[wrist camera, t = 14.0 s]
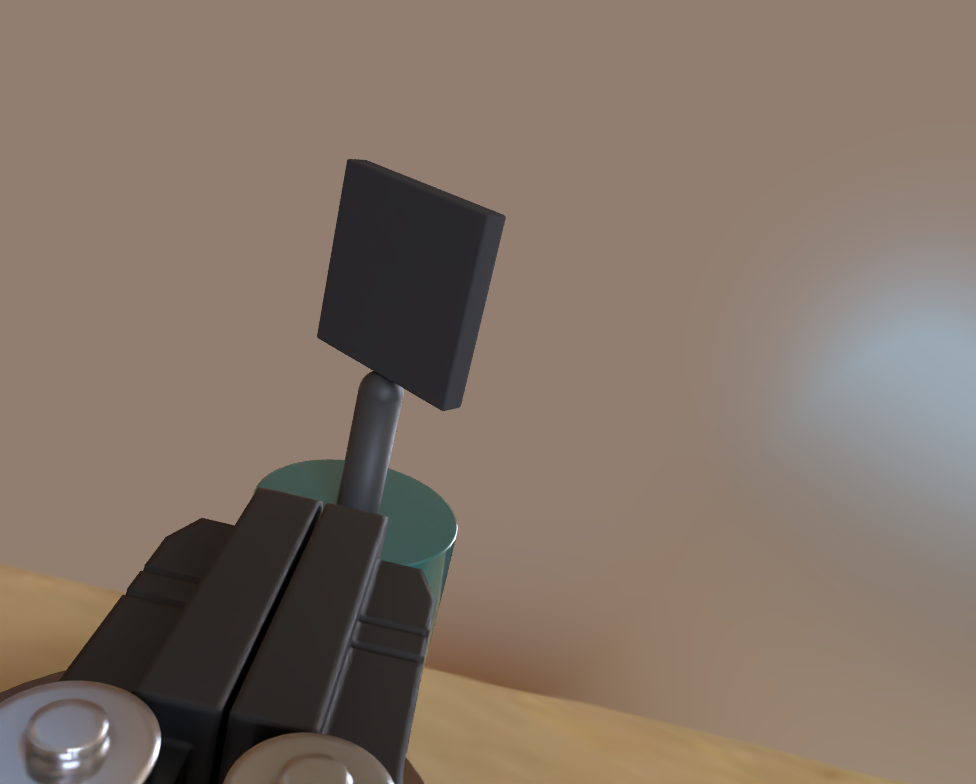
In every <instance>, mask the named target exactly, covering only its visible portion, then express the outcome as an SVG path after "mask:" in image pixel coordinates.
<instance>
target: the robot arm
mask: <svg viewBox="0 0 976 784" xmlns="http://www.w3.org/2000/svg"><path fill="white" fill-rule="evenodd" d="M387 524H388V517H387V516H383V515H379V514H374V513H370V512H366V511H362V510H358V509H353V508H349V507H345V506H341V505H337V504H332V503H326V505H325V507H324V509H323V502H322V501H319V500H315V499H310V498H306V497H302V496H298V495H294V494H289V493H285V492H281V491H277V490H273V489H268V488H264V487H259V488H258V489H257V491H256V492H255V494H254V495H253V497H252V499H251V500H250V502H249V504H248V505H247V507H246V508H245V510H244V511H243V513H242V515H241V516H240V518H239V520H238V521H237V523H236V524H235V526H234V525H230V524H226V523H221V522H217V521H213V520H209V519H205V518H201V519H199V520H197V521H195V522H193V523H191V524H189V525H188V526H186V527H184V528H182V529H180V530H178V531H176V532H175V533H173V534H171V535H169V536H167V537H165V539H164V540H163V542H162V543H161V544H160V546H159V547H158V548H157V550H156V551H155V552H154V554H153V555H152V556H151V558H150V559H149V560H148V562H147V563H146V564H145V567H144V570H143V571H140V572H139V574H138V575H137V576H136V578H135V579H134V580H133V582H132V583H131V584H130V586H129V587H128V589H127V592H126V594H125V595H122V596H121V598H120V599H119V600H118V602H117V603H116V604H115V606H114V607H113V608H112V610H111V611H110V613H109V614H108V615H107V617H106V618H105V619H104V621H103V622H102V623H101V625H100V626H99V627H98V629H97V630H96V631H95V633H94V634H93V635H92V637H91V638H90V639H89V641H88V642H87V643H86V645H85V646H84V647H83V649H82V650H81V651H80V653H79V654H78V655H77V657H76V658H75V659H74V661H73V662H72V663H71V665H70V666H69V667H68V669H67V670H66V671H65V673H64V674H63V675H62V677H61V678H60V680H59V681H58V682H54V683H48V684H44V685H40V686H36V687H33V688H30V689H27V690H24V691H22V692H19V693H17V694H15V695H13V696H11V697H9V698H7V699H5V700H4V701H2V702H1V703H0V784H404V783H403V772H404V764H405V759H406V753H407V748H408V743H409V738H410V732H411V727H412V722H413V717H414V711H415V706H416V701H417V696H418V690H419V685H420V680H421V675H422V669H423V663H424V658H425V653H426V648H427V643H428V636H429V632H430V627H431V622H432V617H433V611H434V606H435V601H436V600H435V598H434V596H433V593H432V591H431V588H430V586H429V584H428V581H427V579H426V577H425V574H424V572H423V570H422V569H417V568H413V567H409V566H405V565H400V564H396V563H392V562H388V561H383V560H380V556H381V552H382V547H383V543H384V538H385V534H386V529H387Z"/></svg>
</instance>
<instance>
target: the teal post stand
mask: <svg viewBox="0 0 976 784" xmlns="http://www.w3.org/2000/svg"><path fill="white" fill-rule="evenodd" d="M504 223H505V216H504V215H502V214H500V213H497V212H495V211H492V210H490V209H487V208H485V207H482V206H480V205H477V204H475V203H472V202H470V201H467V200H465V199H462V198H460V197H457V196H455V195H452V194H450V193H447V192H445V191H442V190H440V189H437V188H435V187H432V186H430V185H427V184H425V183H422V182H420V181H417V180H415V179H412V178H410V177H407V176H405V175H402V174H400V173H397V172H395V171H392V170H389V169H387V168H385V167H382V166H380V165H377V164H375V163H372V162H369V161H367V160H356V159H348V160H347V165H346V170H345V177H344V182H343V188H342V194H341V200H340V205H339V212H338V218H337V223H336V229H335V235H334V240H333V247H332V252H331V258H330V264H329V270H328V276H327V281H326V288H325V293H324V299H323V305H322V311H321V317H320V322H319V328H318V334H317V337H318V338H319V339H321V340H322V341H324V342H326V343H327V344H329V345H331V346H332V347H334V348H336V349H337V350H339V351H341V352H343V353H344V354H346V355H348V356H349V357H351V358H353V359H355V360H356V361H358V362H360V363H361V364H363V365H365V366H366V367H368V368H370V369H372V370H373V371H372V372H370V373H369V374H367V375H366V376H365V377H364V378H363V380H362V381H361V383H360V386H359V390H358V395H357V400H356V406H355V411H354V416H353V421H352V426H351V432H350V437H349V442H348V447H347V453H346V457H345V460H334V459H333V460H332V459H325V460H311V461H303V462H298V463H294V464H290V465H287V466H284V467H281V468H279V469H277V470H275V471H273V472H271V473H270V474H268V475H267V476H266V477H264V478H263V479H262V480H261V481H260V483H259V484H258V485H257V486H256V488H255V490H254V492H253V495H254V494H255V492H256V491H257V489H258V488H259V487H264V488H268V489H273V490H277V491H281V492H285V493H289V494H294V495H298V496H302V497H306V498H310V499H315V500H319V501H322V502H323V509H324V507H325V505H326V503H332V504H337V505H341V506H345V507H349V508H353V509H358V510H362V511H366V512H370V513H374V514H379V515H383V516H387V517H388V524H387V529H386V534H385V538H384V543H383V547H382V552H381V556H380V560H383V561H388V562H392V563H396V564H400V565H405V566H409V567H413V568H417V569H422V570H423V572H424V574H425V577H426V579H427V581H428V584H429V586H430V588H431V591H432V593H433V596H434V598H435V600H436V601H435V606H434V611H433V617H432V622H431V627H430V632H429V636H428V643H427V648H426V653H425V658H424V663H423V669H424V665H425V661H426V657H427V653H428V649H429V645H430V641H431V637H432V633H433V629H434V625H435V621H436V617H437V613H438V609H439V605H440V601H441V597H442V593H443V589H444V585H445V581H446V577H447V573H448V569H449V565H450V561H451V557H452V553H453V549H454V545H455V541H456V537H457V532H458V526H457V520H456V517H455V515H454V512H453V510H452V509H451V507H450V506H449V505H448V503H447V502H446V501H445V500H444V499H443V498H442V497H441V496H440V495H439V494H438V493H436V492H435V491H434V490H432V489H431V488H430V487H428V486H427V485H425V484H423V483H421V482H420V481H418V480H416V479H413V478H412V477H410V476H407V475H405V474H403V473H400V472H397V471H395V470H392V469H389V468H388V466H389V460H390V456H391V451H392V446H393V442H394V437H395V432H396V428H397V423H398V418H399V414H400V409H401V404H402V399H403V393H404V390H403V388H404V389H406V390H408V391H409V392H411V393H413V394H414V395H416V396H418V397H419V398H421V399H423V400H425V401H426V402H428V403H430V404H431V405H433V406H435V407H436V408H438V409H440V410H442V411H446V410H450V409H455V408H459V407H460V406H461V403H462V398H463V395H464V391H465V386H466V382H467V378H468V374H469V370H470V365H471V361H472V357H473V353H474V349H475V344H476V340H477V336H478V332H479V328H480V323H481V319H482V315H483V310H484V307H485V302H486V298H487V294H488V290H489V285H490V281H491V277H492V273H493V269H494V265H495V260H496V256H497V252H498V248H499V243H500V239H501V235H502V231H503V227H504ZM423 669H422V673H423ZM64 673H65V671H62V672H58V673H54V674H51V675H48V676H45V677H42V678H39V679H36V680H33V681H29V682H26V683H23V684H21V685H18V686H16V687H14V688H11V689H9V690H6V691H4V692H1V693H0V703H1V702H2V701H4V700H5V699H7V698H9V697H11V696H13V695H15V694H17V693H19V692H22V691H24V690H27V689H30V688H33V687H36V686H40V685H44V684H48V683H54V682H58V681H59V680H60V678H61V677H62V675H63V674H64ZM421 677H422V675H421ZM420 681H421V680H420ZM403 783H404V784H425V783H424V781H423V780H422V778H421V776H420V775H419V773H418V772H417V771H416V770H415V768H414V767H413V766H412V764H411V763H410V762H409V760H408V759H407V758H406V759H405V764H404V772H403Z"/></svg>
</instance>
